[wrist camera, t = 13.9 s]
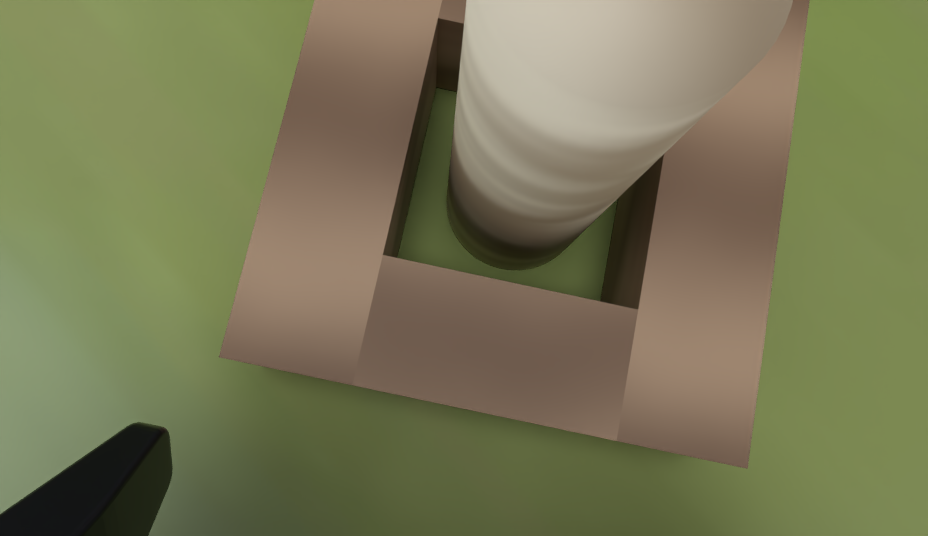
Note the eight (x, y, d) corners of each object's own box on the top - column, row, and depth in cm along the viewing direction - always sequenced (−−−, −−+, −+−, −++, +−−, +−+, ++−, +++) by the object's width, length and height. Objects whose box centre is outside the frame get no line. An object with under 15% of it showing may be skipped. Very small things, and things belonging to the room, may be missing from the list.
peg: (460, 281, 20) (510, 134, 8) (434, 150, 20) (444, -170, 8) (595, 256, 20) (834, 78, 8) (565, 128, 21) (749, -212, 9)
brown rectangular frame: (682, 450, 19) (747, 468, 15) (262, 361, 19) (218, 357, 15) (740, 60, 21) (810, -13, 17) (361, -24, 21) (346, -116, 17)
